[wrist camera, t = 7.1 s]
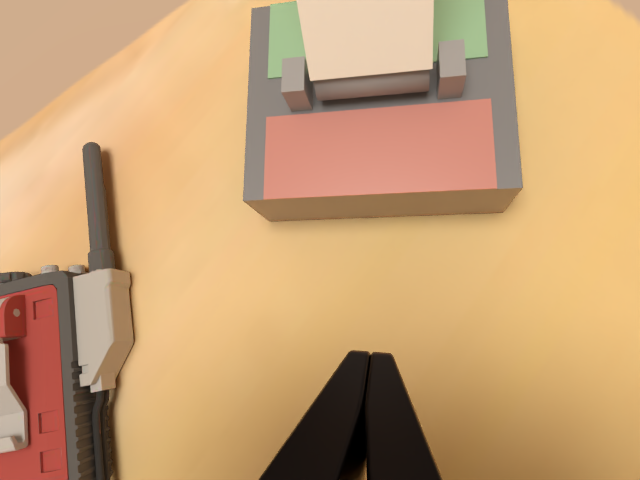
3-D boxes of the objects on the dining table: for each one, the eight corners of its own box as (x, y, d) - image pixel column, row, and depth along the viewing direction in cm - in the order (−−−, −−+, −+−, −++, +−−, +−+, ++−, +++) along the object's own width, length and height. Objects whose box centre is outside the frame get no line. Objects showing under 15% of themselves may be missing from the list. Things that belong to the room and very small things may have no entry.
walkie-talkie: (158, 501, 23) (122, 147, 28) (101, 540, 19) (69, 113, 23) (10, 525, 24) (-1, 182, 29) (-75, 567, 20) (-72, 157, 25)
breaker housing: (502, 212, 22) (534, 172, 17) (269, 221, 24) (227, 188, 19) (489, 32, 24) (514, -59, 18) (274, 55, 26) (238, -19, 21)
